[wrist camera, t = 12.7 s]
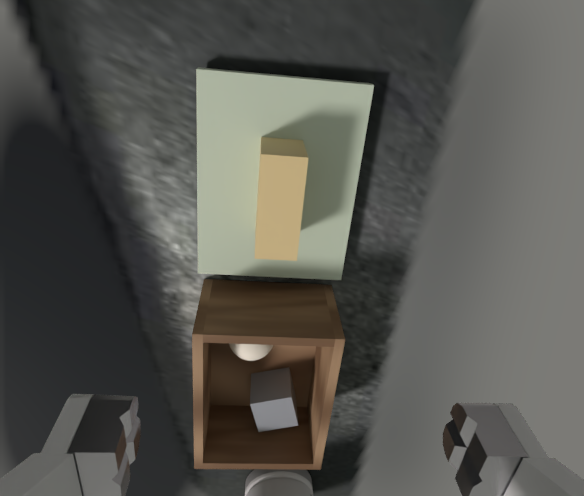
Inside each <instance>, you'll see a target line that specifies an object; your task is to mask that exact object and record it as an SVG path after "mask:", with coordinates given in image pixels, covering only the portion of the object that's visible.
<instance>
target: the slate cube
mask: <svg viewBox="0 0 584 496" xmlns="http://www.w3.org/2000/svg"><path fill="white" fill-rule="evenodd" d="M250 406H251V409H252V412H253V415H254V419H255V422H256V425H257V429H258V432H263V431H269V430H275V429H281V428H287V427H293V426H298V417H297V406H296V395H295V390H294V386H293V382H292V377H291V373H290V369H289V367H288V368H282V369H276V370H270V371H264V372H258V373H253V374H251V390H250Z"/></svg>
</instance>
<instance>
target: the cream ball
mask: <svg viewBox="0 0 584 496" xmlns="http://www.w3.org/2000/svg"><path fill="white" fill-rule="evenodd" d="M229 345H230V348H231V349H232V351H233V352H234V354H236V355H237V356H238V357H239V358H241V359H244V360H248V361H254V360H259V359H261V358H263V357H265V356H266V355H267V354H268V353H269V352H270V351H271V349H272V347H273V345H259V344H229Z"/></svg>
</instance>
